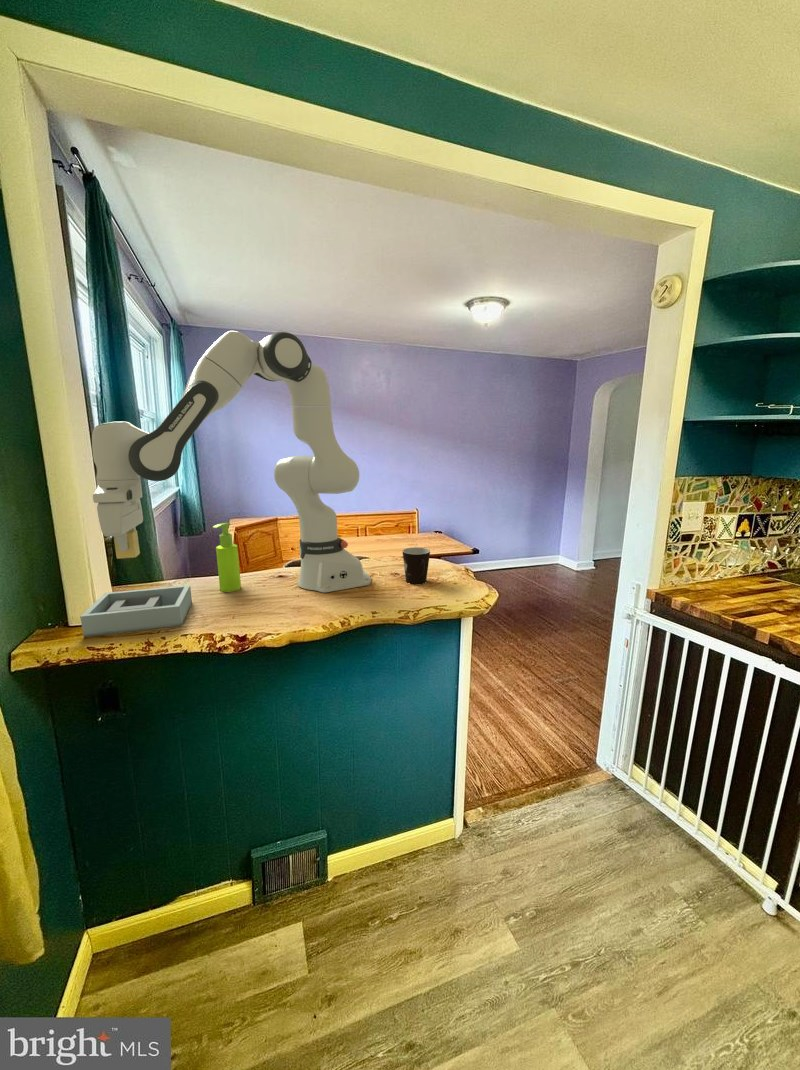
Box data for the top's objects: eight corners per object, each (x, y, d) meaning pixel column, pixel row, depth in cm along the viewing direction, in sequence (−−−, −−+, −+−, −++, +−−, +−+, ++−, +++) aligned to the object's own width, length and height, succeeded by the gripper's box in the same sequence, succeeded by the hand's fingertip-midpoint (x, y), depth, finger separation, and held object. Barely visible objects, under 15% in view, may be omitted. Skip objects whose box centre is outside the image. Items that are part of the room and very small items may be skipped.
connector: (139, 553, 107) (137, 530, 106) (135, 557, 103) (132, 533, 102) (121, 554, 106) (118, 531, 105) (116, 558, 102) (113, 534, 101)
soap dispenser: (213, 591, 125) (206, 525, 121) (229, 584, 131) (223, 520, 127) (229, 593, 123) (222, 526, 119) (245, 586, 129) (239, 522, 125)
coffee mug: (404, 576, 138) (404, 547, 136) (430, 577, 137) (431, 547, 135) (399, 588, 127) (399, 556, 125) (427, 589, 126) (428, 557, 124)
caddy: (192, 602, 116) (190, 585, 115) (181, 625, 102) (179, 606, 100) (107, 611, 111) (105, 592, 110) (83, 637, 96) (80, 616, 95)
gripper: (118, 488, 110) (125, 540, 113) (89, 496, 91) (98, 558, 94) (146, 487, 112) (152, 538, 115) (122, 495, 93) (130, 556, 96)
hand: (127, 547), depth 104 cm, fingers closed on connector, 4 cm apart
